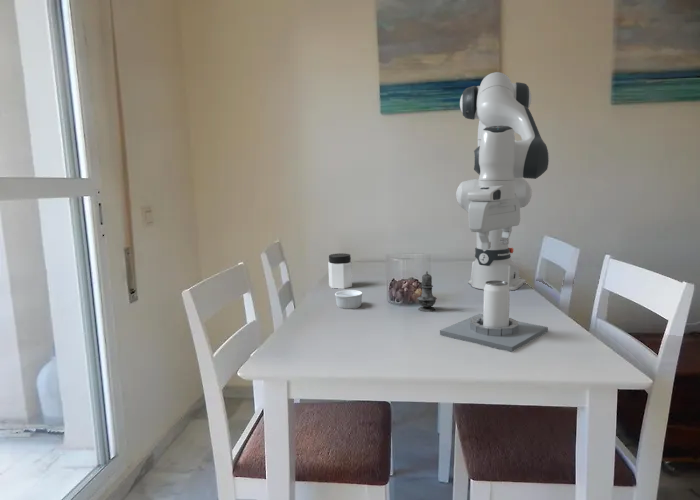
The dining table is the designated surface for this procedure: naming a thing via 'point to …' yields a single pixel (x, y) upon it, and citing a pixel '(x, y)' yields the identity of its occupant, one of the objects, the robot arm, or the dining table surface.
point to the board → (500, 342)
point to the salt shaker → (427, 294)
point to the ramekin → (348, 299)
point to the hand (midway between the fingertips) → (495, 246)
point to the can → (496, 304)
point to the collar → (493, 331)
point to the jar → (340, 271)
